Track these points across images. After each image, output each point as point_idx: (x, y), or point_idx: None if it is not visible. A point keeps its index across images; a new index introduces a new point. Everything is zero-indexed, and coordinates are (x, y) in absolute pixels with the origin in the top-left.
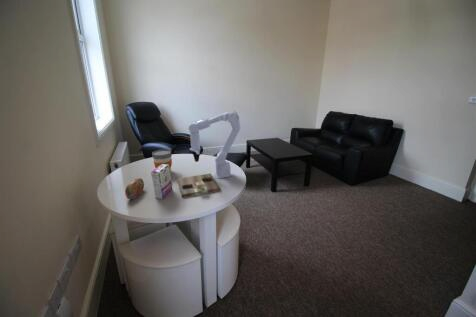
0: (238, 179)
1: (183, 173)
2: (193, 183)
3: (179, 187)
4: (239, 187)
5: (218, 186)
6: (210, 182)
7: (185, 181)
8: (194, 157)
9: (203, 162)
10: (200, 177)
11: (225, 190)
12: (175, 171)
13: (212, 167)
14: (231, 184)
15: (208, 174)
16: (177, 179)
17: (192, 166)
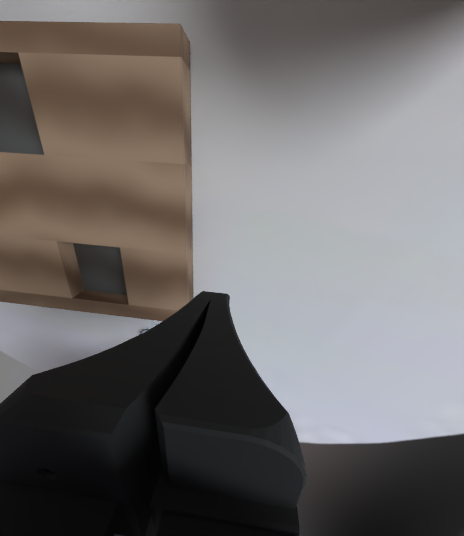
0: None
1: (340, 142)
2: (50, 169)
3: (6, 26)
4: (37, 366)
5: (3, 299)
6: (55, 279)
7: (94, 108)
8: (153, 327)
9: (454, 350)
10: (142, 247)
11: (11, 312)
12: (453, 59)
13: (318, 363)
14: (69, 354)
15: (175, 308)
16: (155, 24)
17: (443, 258)
